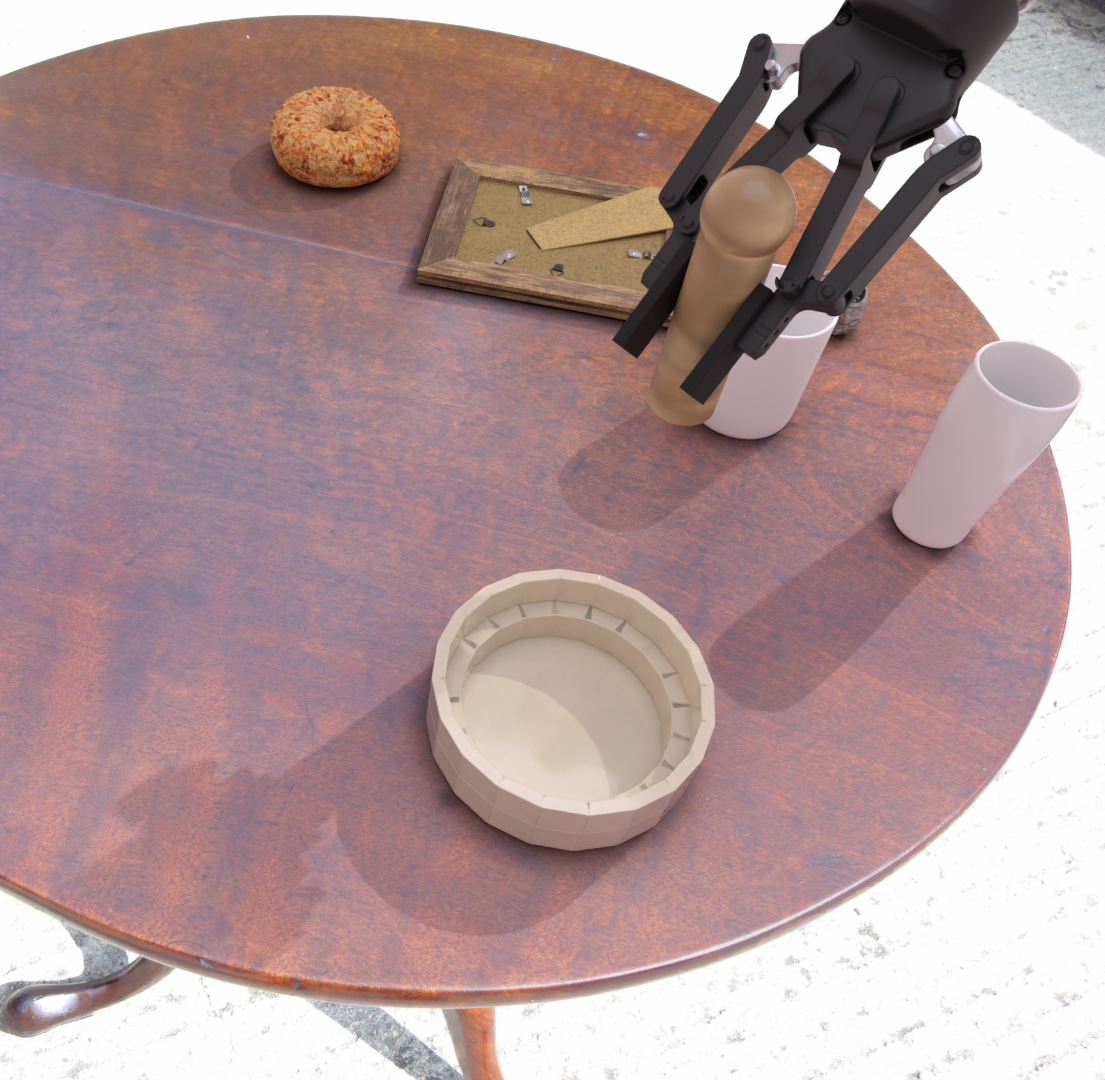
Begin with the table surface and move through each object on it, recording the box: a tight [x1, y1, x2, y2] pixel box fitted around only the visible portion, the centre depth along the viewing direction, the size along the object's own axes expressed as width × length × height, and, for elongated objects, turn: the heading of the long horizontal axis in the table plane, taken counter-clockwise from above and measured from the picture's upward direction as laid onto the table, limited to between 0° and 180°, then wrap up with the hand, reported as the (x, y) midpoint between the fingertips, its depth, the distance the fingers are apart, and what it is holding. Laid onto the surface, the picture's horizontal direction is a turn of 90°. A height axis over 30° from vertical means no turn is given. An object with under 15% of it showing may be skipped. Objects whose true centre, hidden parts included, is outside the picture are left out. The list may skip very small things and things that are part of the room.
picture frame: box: [416, 155, 674, 328], centre depth 98 cm, size 19×2×24 cm
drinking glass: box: [891, 339, 1084, 549], centre depth 73 cm, size 7×7×15 cm
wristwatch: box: [822, 270, 869, 336], centre depth 92 cm, size 4×6×5 cm, turn 22°
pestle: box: [646, 165, 798, 427], centre depth 57 cm, size 5×5×15 cm
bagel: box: [269, 85, 402, 189], centre depth 104 cm, size 13×14×5 cm
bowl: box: [425, 568, 716, 852], centre depth 65 cm, size 17×17×6 cm
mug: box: [702, 263, 840, 440], centre depth 82 cm, size 9×12×11 cm
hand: (658, 372), depth 58 cm, fingers closed on pestle, 4 cm apart
